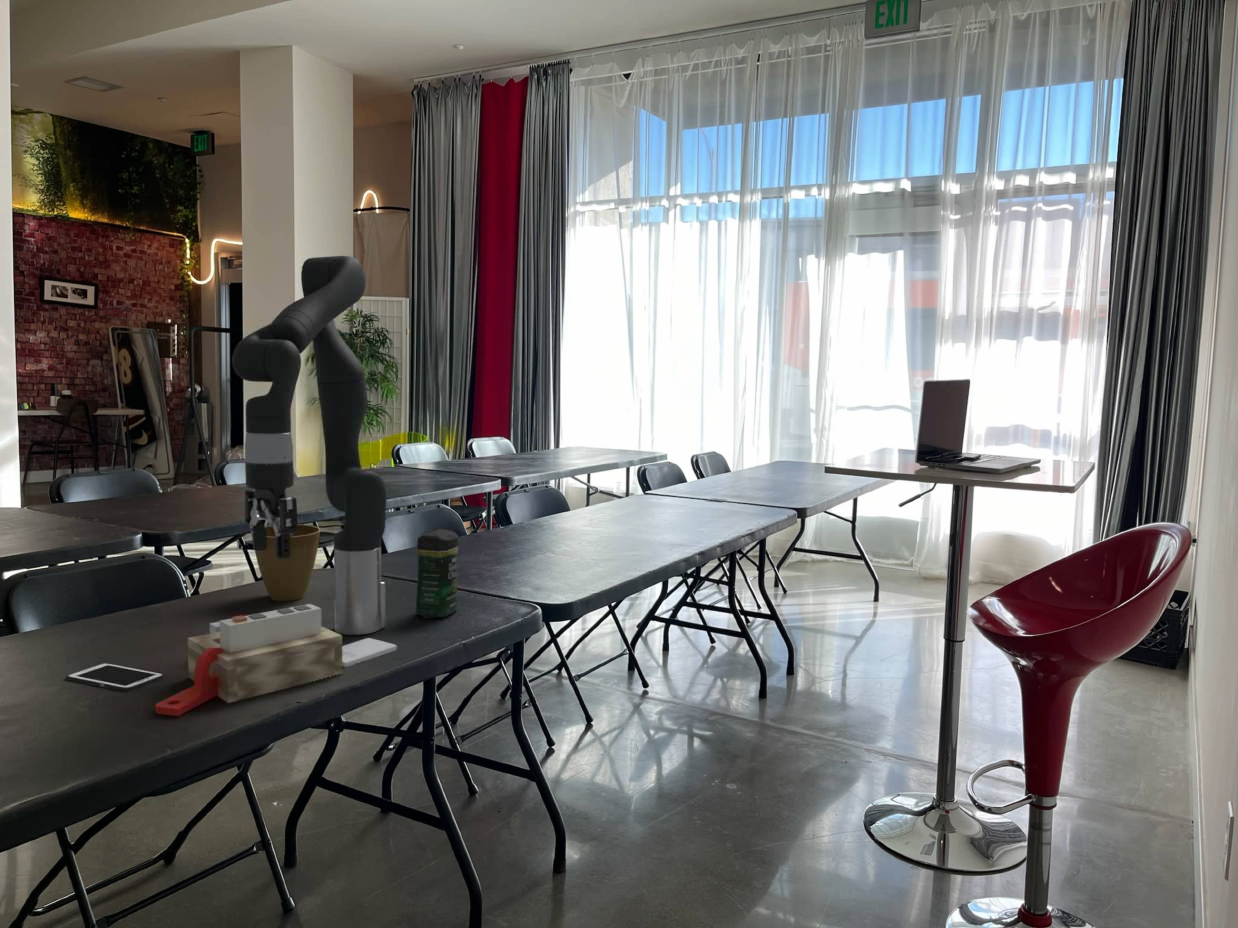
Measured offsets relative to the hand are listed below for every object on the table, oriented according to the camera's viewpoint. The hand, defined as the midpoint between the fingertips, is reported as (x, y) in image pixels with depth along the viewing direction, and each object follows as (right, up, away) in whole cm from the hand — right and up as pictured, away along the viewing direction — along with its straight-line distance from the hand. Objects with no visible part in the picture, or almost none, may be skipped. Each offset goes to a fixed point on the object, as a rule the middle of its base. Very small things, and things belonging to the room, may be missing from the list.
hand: (271, 553), depth 150 cm
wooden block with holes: (-2, -22, +4) cm, 22 cm away
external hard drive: (+10, -21, +17) cm, 29 cm away
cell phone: (-27, -22, +1) cm, 35 cm away
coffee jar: (+19, -18, +45) cm, 52 cm away
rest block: (-14, -20, +15) cm, 29 cm away
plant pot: (-18, -16, +55) cm, 60 cm away
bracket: (-9, -23, -9) cm, 26 cm away
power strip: (0, -19, +2) cm, 19 cm away
